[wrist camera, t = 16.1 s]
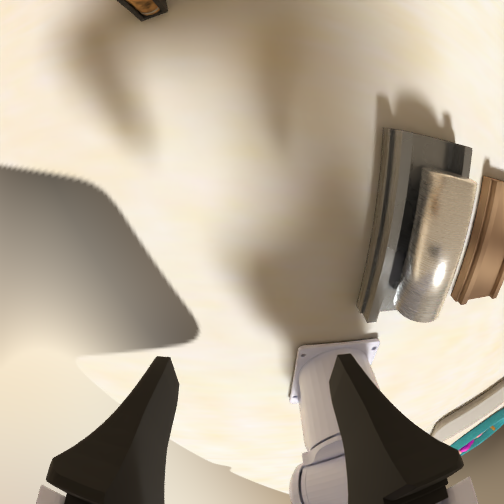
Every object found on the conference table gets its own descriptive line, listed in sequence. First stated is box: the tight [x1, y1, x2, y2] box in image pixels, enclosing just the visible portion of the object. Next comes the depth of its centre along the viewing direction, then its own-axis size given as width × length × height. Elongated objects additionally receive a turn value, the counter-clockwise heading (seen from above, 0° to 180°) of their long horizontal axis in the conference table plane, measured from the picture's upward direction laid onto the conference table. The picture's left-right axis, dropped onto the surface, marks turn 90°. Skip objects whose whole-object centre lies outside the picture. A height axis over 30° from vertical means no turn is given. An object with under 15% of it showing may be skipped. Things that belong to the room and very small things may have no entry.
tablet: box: [431, 379, 504, 442], centre depth 37 cm, size 16×26×2 cm, turn 112°
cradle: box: [357, 128, 472, 323], centre depth 17 cm, size 14×7×2 cm, turn 0°
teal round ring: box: [451, 408, 504, 455], centre depth 50 cm, size 30×30×6 cm
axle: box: [394, 167, 477, 323], centre depth 16 cm, size 10×4×4 cm, turn 1°
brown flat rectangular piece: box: [451, 176, 504, 305], centre depth 18 cm, size 12×7×2 cm, turn 0°
